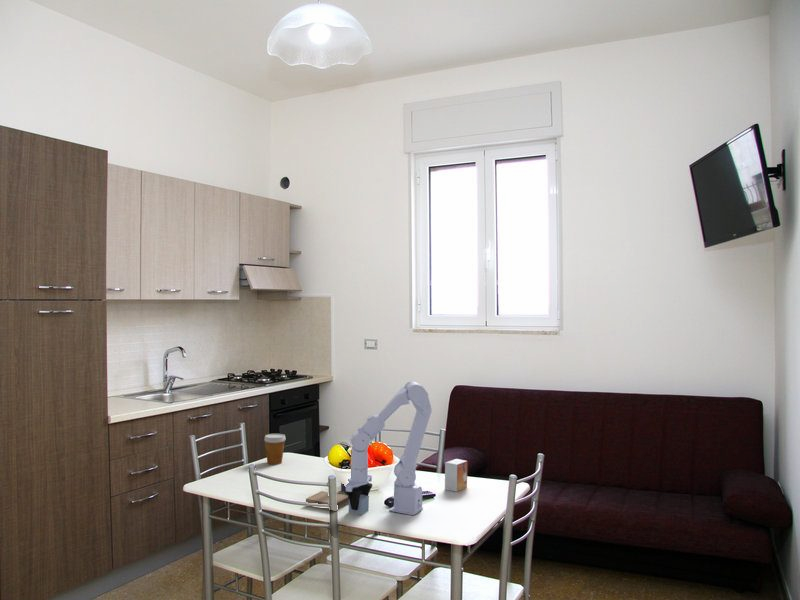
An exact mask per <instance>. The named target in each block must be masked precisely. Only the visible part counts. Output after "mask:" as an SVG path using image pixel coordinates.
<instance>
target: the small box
mask: <svg viewBox="0 0 800 600" xmlns="http://www.w3.org/2000/svg"><path fill="white" fill-rule="evenodd" d="M467 488H468V461H467V460H464V459H459V458H455V459H452V460H448V461H445V462H444V490H446V491H447V490H448V491H452V492H460V491H462V490H464V489H467Z"/></svg>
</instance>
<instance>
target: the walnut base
mask: <svg viewBox="0 0 800 600" xmlns="http://www.w3.org/2000/svg"><path fill="white" fill-rule="evenodd" d="M336 494H337V505H338V510H340V509H342V508H344V507H346V506H349V498H348V495H347V494H341V493H336ZM306 502H308V503H318V504H328V503H329V496H328V491H325V490H324V491H323V490H321V491H319V492H317V493H315V494H313V495H311V496H309V497H306V498H305V503H306ZM318 509H320V510H325V511H330V510H329V508H318ZM338 510H337V511H338Z"/></svg>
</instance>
